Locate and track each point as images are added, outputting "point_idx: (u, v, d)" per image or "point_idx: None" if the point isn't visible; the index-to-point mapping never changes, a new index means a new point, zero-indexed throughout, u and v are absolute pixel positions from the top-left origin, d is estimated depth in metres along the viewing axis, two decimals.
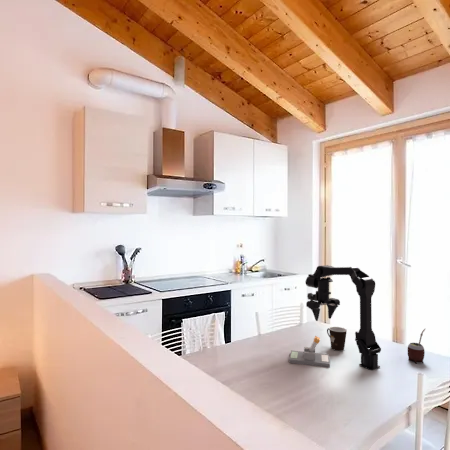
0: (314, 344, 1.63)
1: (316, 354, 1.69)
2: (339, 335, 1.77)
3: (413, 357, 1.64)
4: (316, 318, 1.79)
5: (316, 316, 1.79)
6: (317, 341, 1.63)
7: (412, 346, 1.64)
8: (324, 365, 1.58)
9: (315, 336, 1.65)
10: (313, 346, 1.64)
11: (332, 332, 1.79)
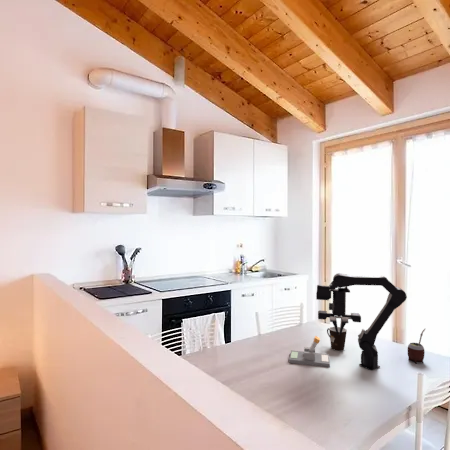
0: (314, 344, 1.63)
1: (316, 354, 1.69)
2: (339, 335, 1.77)
3: (413, 357, 1.64)
4: (336, 331, 1.62)
5: (335, 329, 1.62)
6: (317, 341, 1.63)
7: (412, 346, 1.64)
8: (324, 365, 1.58)
9: (315, 336, 1.65)
10: (313, 346, 1.64)
11: (332, 332, 1.79)
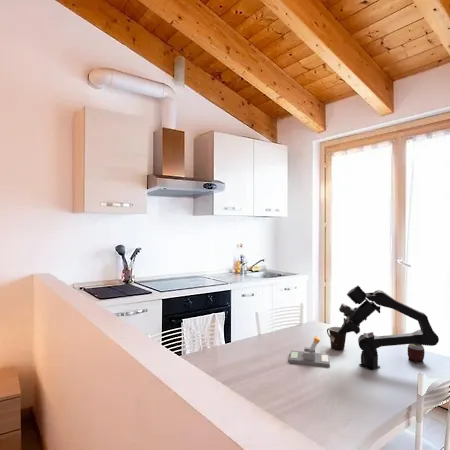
0: (314, 344, 1.63)
1: (316, 354, 1.69)
2: (339, 335, 1.77)
3: (413, 357, 1.64)
4: (340, 333, 1.61)
5: (343, 332, 1.61)
6: (317, 341, 1.63)
7: (412, 346, 1.64)
8: (324, 365, 1.58)
9: (315, 336, 1.65)
10: (313, 346, 1.64)
11: (332, 332, 1.79)
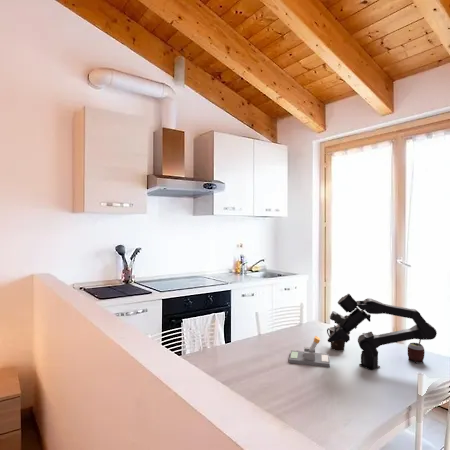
0: (314, 344, 1.63)
1: (316, 354, 1.69)
2: None
3: (413, 357, 1.64)
4: (331, 340, 1.62)
5: (333, 340, 1.62)
6: (317, 341, 1.63)
7: (412, 346, 1.64)
8: (324, 365, 1.58)
9: (315, 336, 1.65)
10: (313, 346, 1.64)
11: (332, 332, 1.79)
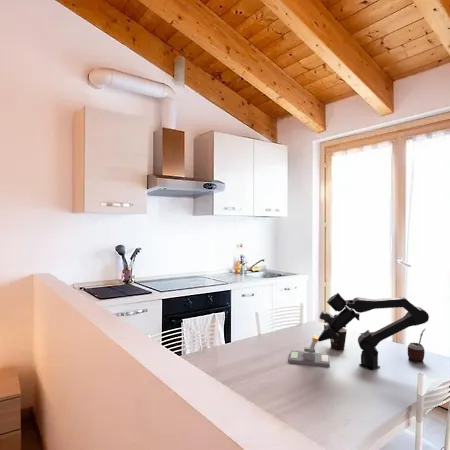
0: (313, 343, 1.64)
1: (316, 354, 1.69)
2: (339, 335, 1.77)
3: (413, 357, 1.64)
4: (320, 339, 1.63)
5: (323, 339, 1.63)
6: (315, 340, 1.63)
7: (412, 346, 1.64)
8: (324, 365, 1.58)
9: None
10: (312, 346, 1.64)
11: None
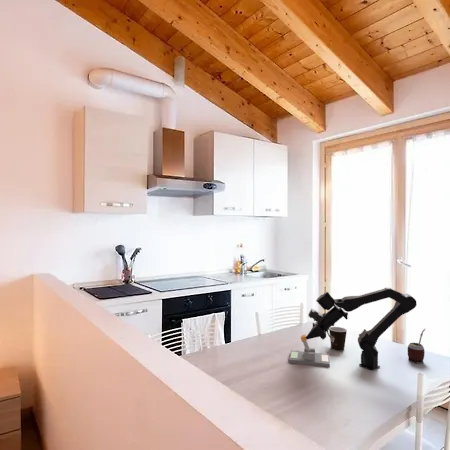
0: (304, 343, 1.65)
1: (316, 354, 1.69)
2: (339, 335, 1.77)
3: (413, 357, 1.64)
4: (309, 337, 1.65)
5: (311, 337, 1.64)
6: (304, 339, 1.64)
7: (412, 346, 1.64)
8: (324, 365, 1.58)
9: None
10: (305, 345, 1.64)
11: (332, 332, 1.79)
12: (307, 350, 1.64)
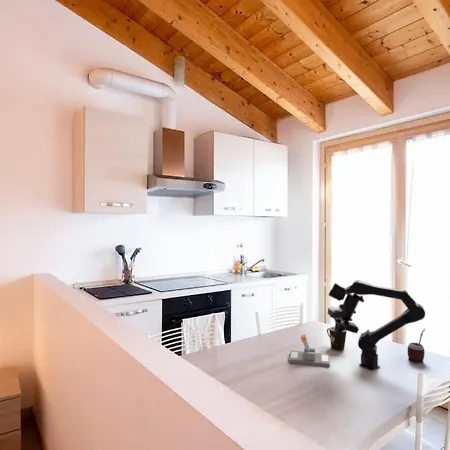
0: (304, 343, 1.65)
1: (316, 354, 1.69)
2: (339, 335, 1.77)
3: (413, 357, 1.64)
4: (338, 333, 1.64)
5: (340, 331, 1.64)
6: (304, 339, 1.64)
7: (412, 346, 1.64)
8: (324, 365, 1.58)
9: None
10: (305, 345, 1.64)
11: (332, 332, 1.79)
12: (307, 350, 1.64)
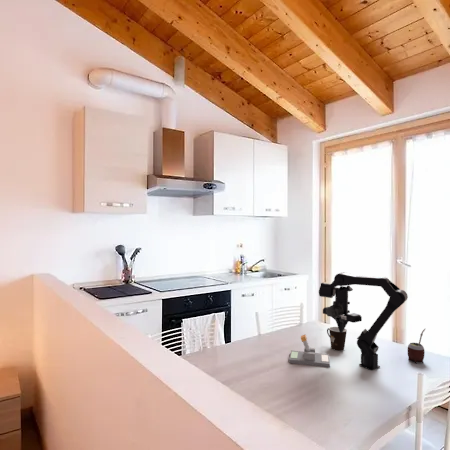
0: (304, 343, 1.65)
1: (316, 354, 1.69)
2: (339, 335, 1.77)
3: (413, 357, 1.64)
4: (343, 329, 1.66)
5: (344, 327, 1.66)
6: (304, 339, 1.64)
7: (412, 346, 1.64)
8: (324, 365, 1.58)
9: None
10: (305, 345, 1.64)
11: (332, 332, 1.79)
12: (307, 350, 1.64)
